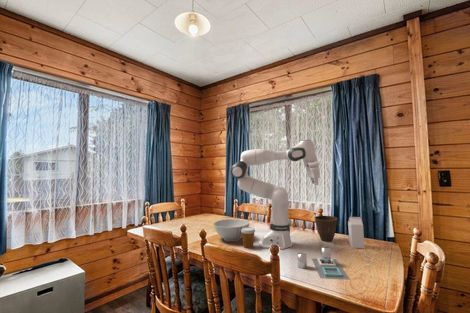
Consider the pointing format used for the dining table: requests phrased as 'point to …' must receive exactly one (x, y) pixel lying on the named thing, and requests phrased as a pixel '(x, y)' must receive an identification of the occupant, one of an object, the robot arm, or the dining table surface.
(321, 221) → the plant pot
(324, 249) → the grey tall round-topped piece
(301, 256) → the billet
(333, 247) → the dining table surface
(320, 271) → the grey flat plate
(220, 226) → the decorative bowl
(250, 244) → the disposable coffee cup
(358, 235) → the milk carton
